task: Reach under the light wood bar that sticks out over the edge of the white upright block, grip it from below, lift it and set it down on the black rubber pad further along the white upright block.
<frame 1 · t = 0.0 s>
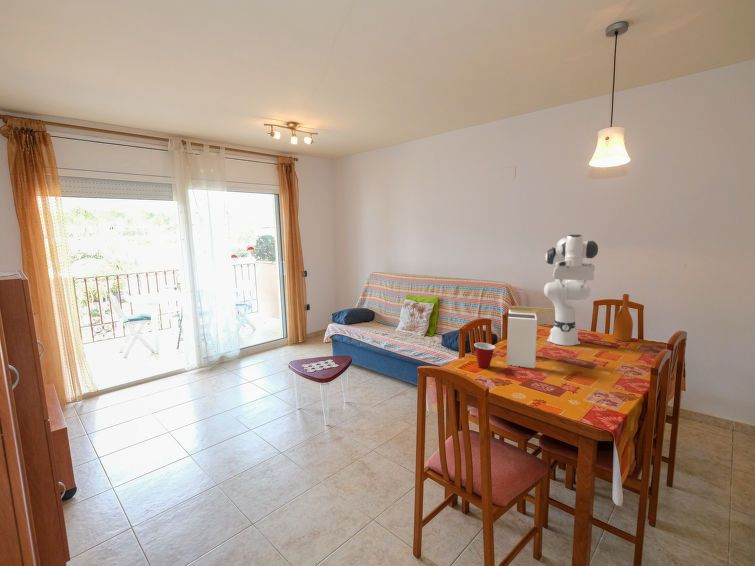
hand: (572, 287, 201), 39 cm above the table, tool pointing down, fingers open, 8 cm apart
light wood bar: (531, 312, 198), point 26 cm above the table, touching white upright block
plastic cup: (484, 367, 190), on the table
white upright block: (520, 359, 198), on the table
wine bottle: (622, 339, 231), on the table
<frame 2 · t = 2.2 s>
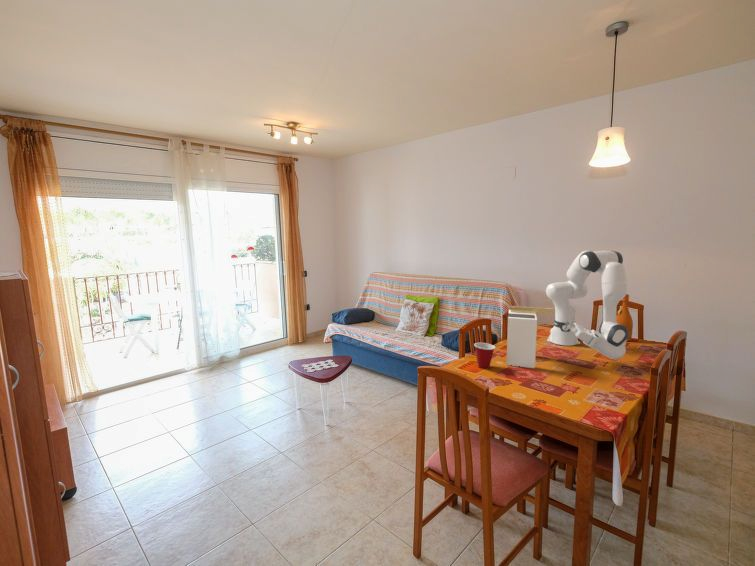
hand: (566, 323, 192), 21 cm above the table, tool pointing upward, fingers open, 8 cm apart
nothing on the table moved.
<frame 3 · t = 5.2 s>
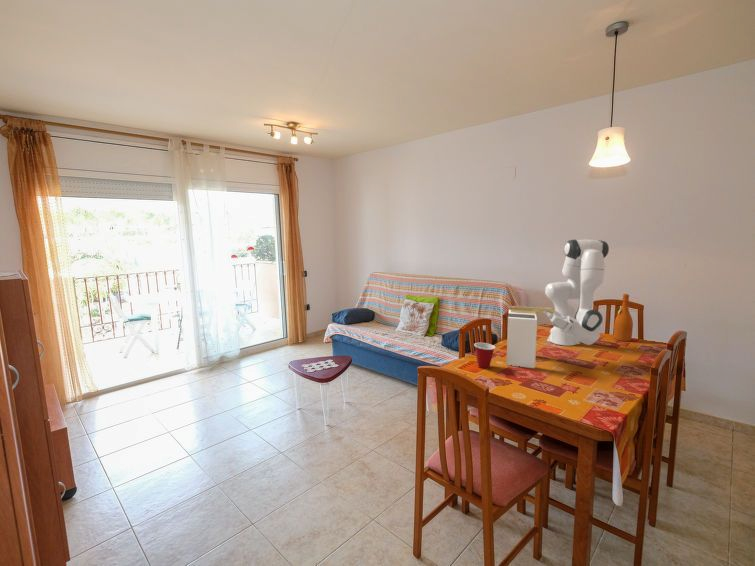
hand: (543, 310, 196), 28 cm above the table, tool pointing upward, fingers closed on light wood bar, 3 cm apart
light wood bar: (531, 312, 198), point 26 cm above the table, touching gripper, white upright block
everything else where it was.
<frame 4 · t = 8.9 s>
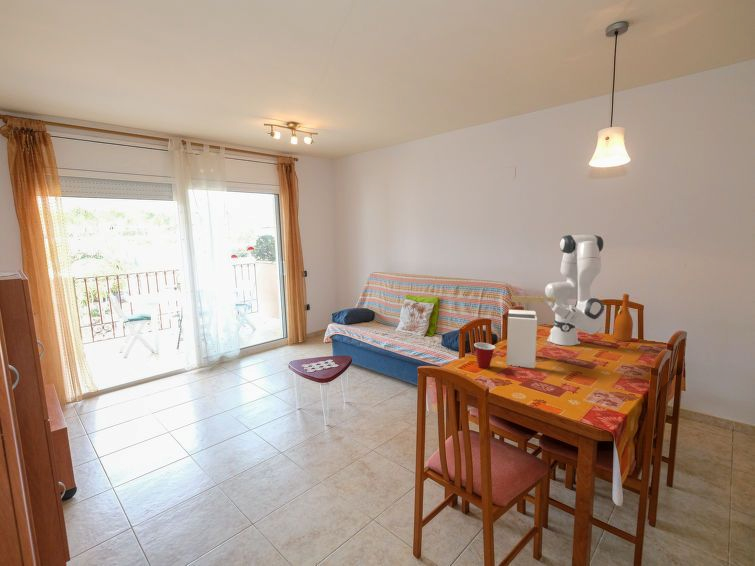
hand: (544, 299, 191), 35 cm above the table, tool pointing upward, fingers closed on light wood bar, 3 cm apart
light wood bar: (532, 302, 193), point 33 cm above the table, touching gripper
everything else where it was.
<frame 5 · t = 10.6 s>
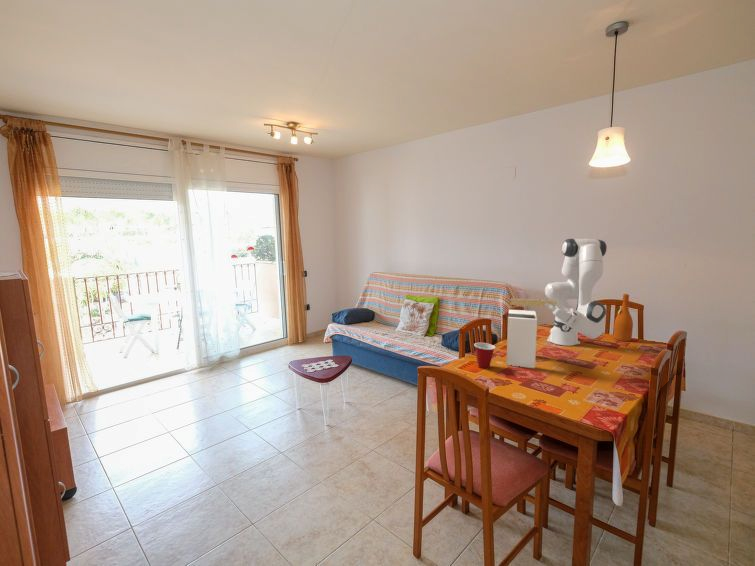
hand: (545, 302, 186), 34 cm above the table, tool pointing upward, fingers closed on light wood bar, 3 cm apart
light wood bar: (532, 305, 188), point 32 cm above the table, touching gripper
everything else where it was.
when the fingers open (29 cm above the table, at t = 12.2 s): light wood bar drops 1 cm, resting on white upright block.
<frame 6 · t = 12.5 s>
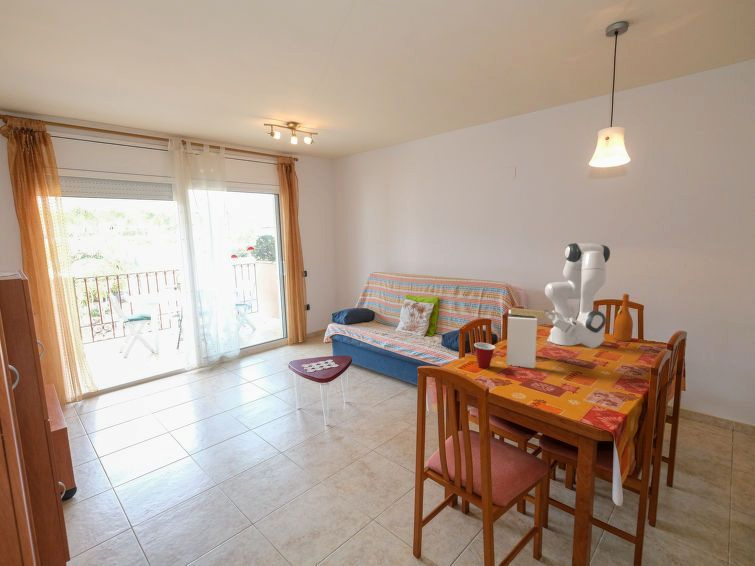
hand: (544, 311, 186), 29 cm above the table, tool pointing upward, fingers open, 6 cm apart
light wood bar: (532, 316, 189), point 26 cm above the table, touching white upright block
everything else where it was.
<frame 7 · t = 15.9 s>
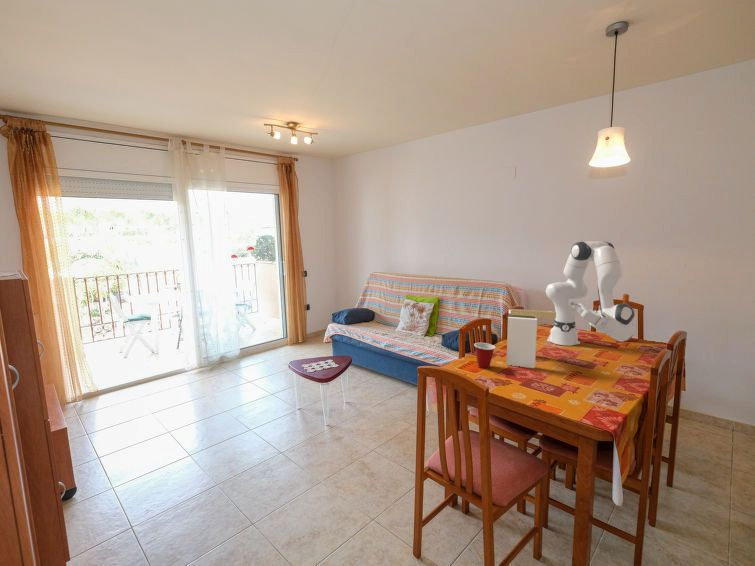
hand: (571, 304, 181), 34 cm above the table, tool pointing upward, fingers open, 8 cm apart
nothing on the table moved.
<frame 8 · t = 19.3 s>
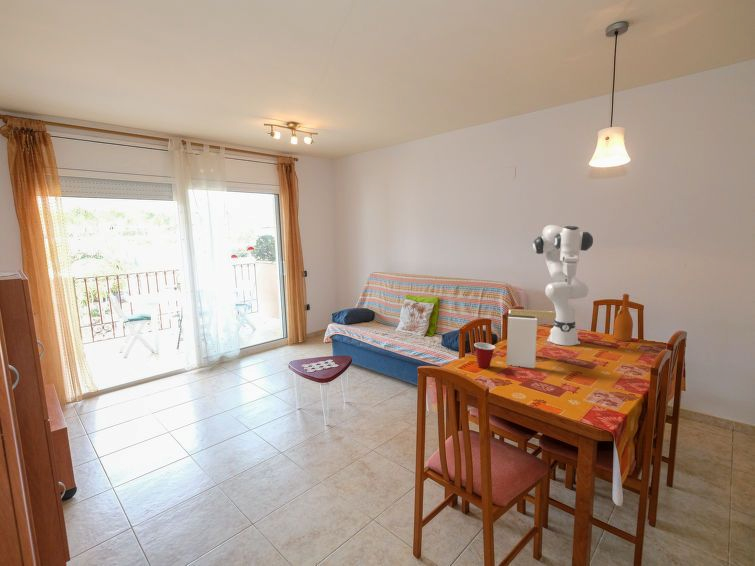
hand: (567, 283, 189), 43 cm above the table, tool pointing down, fingers open, 8 cm apart
nothing on the table moved.
at the end: light wood bar 0.0 cm from the target spot on the white upright block, point 26.3 cm above the white upright block's base; the gripper is holding nothing; light wood bar tilted 0° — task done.
